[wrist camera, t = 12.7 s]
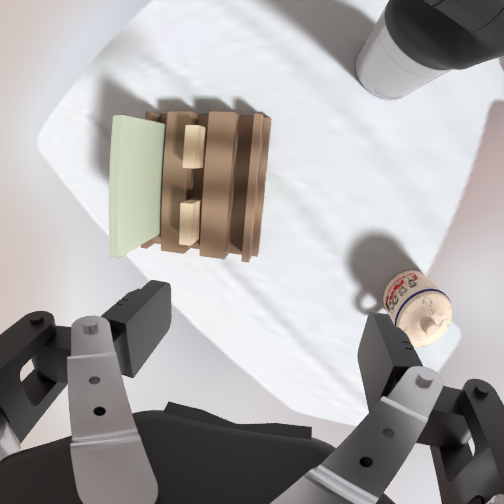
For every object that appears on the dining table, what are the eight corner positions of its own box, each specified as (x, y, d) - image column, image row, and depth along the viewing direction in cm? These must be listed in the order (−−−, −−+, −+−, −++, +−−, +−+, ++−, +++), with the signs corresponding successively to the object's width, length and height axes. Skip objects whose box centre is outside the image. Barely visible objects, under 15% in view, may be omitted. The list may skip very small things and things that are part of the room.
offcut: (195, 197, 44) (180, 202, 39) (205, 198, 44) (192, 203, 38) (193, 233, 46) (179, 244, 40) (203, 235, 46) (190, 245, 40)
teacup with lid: (406, 257, 44) (435, 285, 33) (440, 288, 44) (471, 321, 33) (358, 313, 47) (371, 354, 36) (394, 340, 48) (412, 382, 37)
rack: (154, 115, 43) (141, 112, 39) (271, 118, 41) (268, 114, 37) (149, 239, 49) (136, 247, 45) (258, 253, 47) (254, 263, 43)
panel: (164, 125, 42) (113, 115, 28) (171, 125, 42) (122, 114, 28) (159, 229, 46) (110, 256, 33) (166, 230, 46) (118, 257, 33)
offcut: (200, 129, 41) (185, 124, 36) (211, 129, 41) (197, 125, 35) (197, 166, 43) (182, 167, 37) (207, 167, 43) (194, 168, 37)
